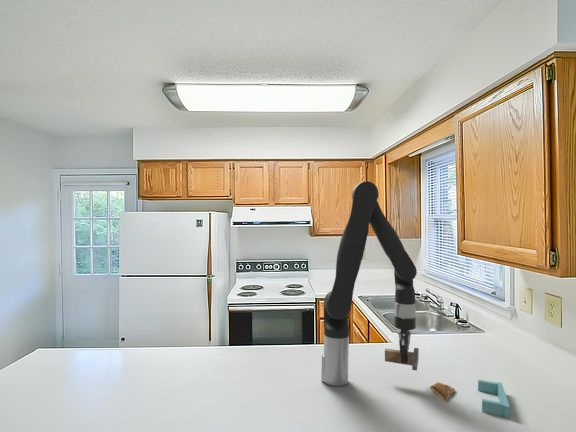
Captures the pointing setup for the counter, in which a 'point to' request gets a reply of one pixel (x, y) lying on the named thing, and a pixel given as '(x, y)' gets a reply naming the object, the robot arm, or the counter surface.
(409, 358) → the hammer
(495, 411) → the u-shaped bracket
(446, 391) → the shard
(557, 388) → the counter surface
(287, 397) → the counter surface
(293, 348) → the counter surface
